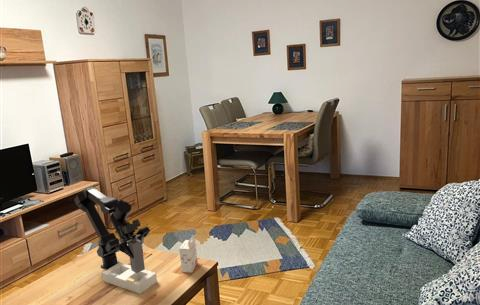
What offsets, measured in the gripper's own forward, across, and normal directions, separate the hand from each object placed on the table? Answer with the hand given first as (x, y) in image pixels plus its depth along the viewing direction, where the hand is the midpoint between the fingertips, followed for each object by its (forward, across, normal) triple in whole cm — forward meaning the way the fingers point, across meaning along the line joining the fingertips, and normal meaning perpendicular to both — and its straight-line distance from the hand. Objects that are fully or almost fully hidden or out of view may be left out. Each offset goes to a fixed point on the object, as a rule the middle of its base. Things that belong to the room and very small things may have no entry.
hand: (137, 256), depth 162 cm
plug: (+4, 0, +6) cm, 7 cm away
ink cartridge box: (+13, +22, +6) cm, 26 cm away
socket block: (+5, -2, +14) cm, 15 cm away
